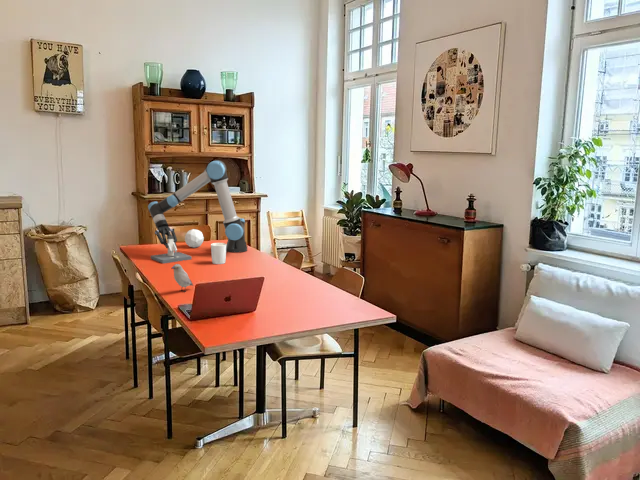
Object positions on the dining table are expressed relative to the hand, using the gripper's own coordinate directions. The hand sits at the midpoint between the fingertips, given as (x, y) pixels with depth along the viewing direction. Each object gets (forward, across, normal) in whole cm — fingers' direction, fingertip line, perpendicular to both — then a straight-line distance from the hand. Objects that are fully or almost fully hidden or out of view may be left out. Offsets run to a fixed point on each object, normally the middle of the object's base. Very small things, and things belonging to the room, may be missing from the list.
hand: (173, 251), depth 343 cm
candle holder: (+21, -19, +12) cm, 31 cm away
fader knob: (0, 0, -5) cm, 5 cm away
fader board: (+1, 0, -6) cm, 7 cm away
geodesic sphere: (-16, -31, -25) cm, 43 cm away
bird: (+52, +30, +44) cm, 74 cm away
